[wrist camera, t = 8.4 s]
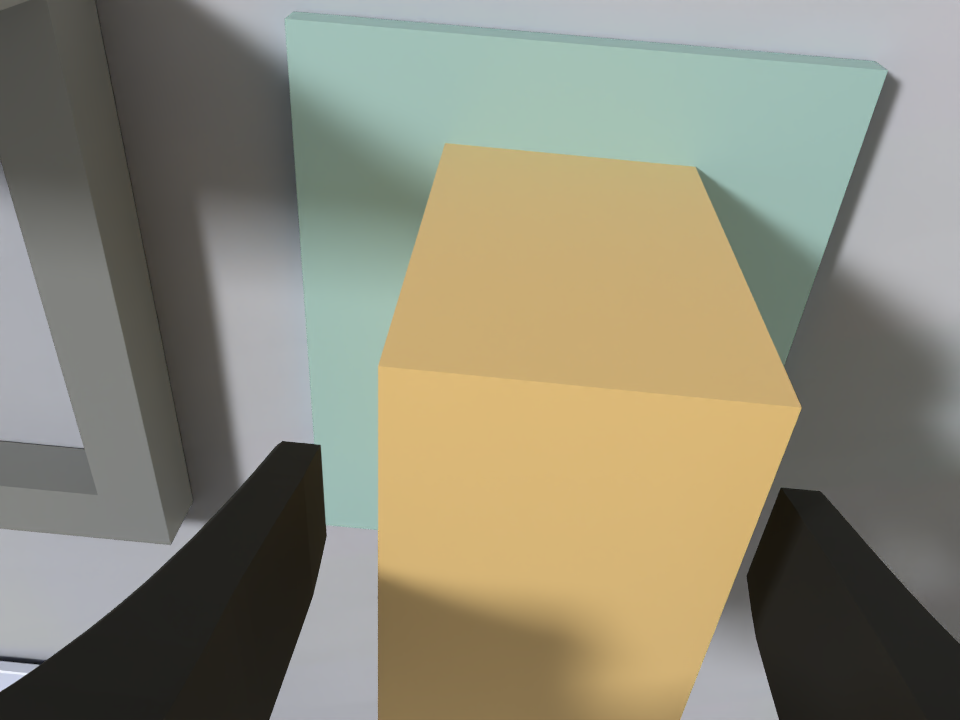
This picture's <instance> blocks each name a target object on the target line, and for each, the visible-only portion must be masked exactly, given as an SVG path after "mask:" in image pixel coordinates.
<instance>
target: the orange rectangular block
mask: <svg viewBox="0 0 960 720" xmlns="http://www.w3.org/2000/svg"><path fill="white" fill-rule="evenodd" d="M801 408H802V407H801V405H800V402H799V400H798V398H797V396H796V393H795V391H794V389H793V387H792V384H791V382H790V380H789V378H788V375H787V373H786V371H785V369H784V366H783V364H782V362H781V359H780V357H779V355H778V353H777V350H776V348H775V346H774V344H773V341H772V339H771V337H770V335H769V332H768V330H767V328H766V325H765V323H764V321H763V319H762V316H761V314H760V312H759V310H758V307H757V305H756V303H755V301H754V298H753V296H752V294H751V291H750V289H749V287H748V285H747V282H746V280H745V278H744V276H743V273H742V271H741V269H740V267H739V264H738V262H737V260H736V257H735V255H734V253H733V251H732V248H731V246H730V244H729V242H728V239H727V237H726V235H725V233H724V230H723V228H722V226H721V223H720V221H719V219H718V217H717V214H716V212H715V210H714V208H713V205H712V203H711V201H710V199H709V196H708V194H707V192H706V189H705V187H704V185H703V183H702V180H701V178H700V176H699V174H698V171H697V169H696V167H692V166H682V165H671V164H661V163H650V162H640V161H629V160H619V159H608V158H598V157H587V156H577V155H566V154H555V153H545V152H534V151H524V150H513V149H503V148H492V147H482V146H471V145H461V144H450V143H445V145H444V148H443V151H442V155H441V158H440V161H439V165H438V168H437V171H436V175H435V178H434V181H433V185H432V188H431V191H430V195H429V198H428V201H427V205H426V208H425V211H424V215H423V218H422V221H421V225H420V228H419V231H418V235H417V238H416V241H415V245H414V248H413V251H412V255H411V258H410V261H409V265H408V268H407V271H406V275H405V278H404V281H403V285H402V288H401V291H400V295H399V298H398V301H397V305H396V308H395V311H394V315H393V318H392V321H391V325H390V328H389V331H388V335H387V338H386V341H385V345H384V348H383V351H382V355H381V358H380V361H379V365H378V720H680V719H681V716H682V713H683V711H684V708H685V706H686V703H687V701H688V698H689V695H690V693H691V690H692V688H693V685H694V683H695V680H696V678H697V675H698V672H699V670H700V667H701V665H702V662H703V660H704V657H705V654H706V652H707V649H708V647H709V644H710V642H711V639H712V637H713V634H714V631H715V629H716V626H717V624H718V621H719V619H720V616H721V613H722V611H723V608H724V606H725V603H726V601H727V598H728V596H729V593H730V590H731V588H732V585H733V583H734V580H735V578H736V575H737V572H738V570H739V567H740V565H741V562H742V560H743V557H744V555H745V552H746V549H747V547H748V544H749V542H750V539H751V537H752V534H753V531H754V529H755V526H756V524H757V521H758V519H759V516H760V514H761V511H762V508H763V506H764V503H765V501H766V498H767V496H768V493H769V490H770V488H771V485H772V483H773V480H774V478H775V475H776V473H777V470H778V467H779V465H780V462H781V460H782V457H783V455H784V452H785V449H786V447H787V444H788V442H789V439H790V437H791V434H792V432H793V429H794V426H795V424H796V421H797V419H798V416H799V414H800V411H801Z"/></svg>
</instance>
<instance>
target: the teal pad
mask: <svg viewBox="0 0 960 720" xmlns="http://www.w3.org/2000/svg"><path fill="white" fill-rule="evenodd" d="M285 31H286V45H287V60H288V74H289V88H290V103H291V117H292V131H293V146H294V160H295V174H296V188H297V203H298V217H299V231H300V246H301V260H302V274H303V289H304V303H305V317H306V332H307V346H308V360H309V375H310V389H311V403H312V418H313V432H314V444H317V445H321V456H322V471H323V487H324V503H325V519H326V525H331V526H342V527H352V528H362V529H373V530H378V365H379V361H380V358H381V355H382V351H383V348H384V345H385V341H386V338H387V335H388V331H389V328H390V325H391V321H392V318H393V315H394V311H395V308H396V305H397V301H398V298H399V295H400V291H401V288H402V285H403V281H404V278H405V275H406V271H407V268H408V265H409V261H410V258H411V255H412V251H413V248H414V245H415V241H416V238H417V235H418V231H419V228H420V225H421V221H422V218H423V215H424V211H425V208H426V205H427V201H428V198H429V195H430V191H431V188H432V185H433V181H434V178H435V175H436V171H437V168H438V165H439V161H440V158H441V155H442V151H443V148H444V145H445V143H450V144H461V145H471V146H482V147H492V148H503V149H513V150H524V151H534V152H545V153H555V154H566V155H577V156H587V157H598V158H608V159H619V160H629V161H640V162H650V163H661V164H671V165H682V166H692V167H696V169H697V171H698V174H699V176H700V178H701V180H702V183H703V185H704V187H705V189H706V192H707V194H708V196H709V199H710V201H711V203H712V205H713V208H714V210H715V212H716V214H717V217H718V219H719V221H720V223H721V226H722V228H723V230H724V233H725V235H726V237H727V239H728V242H729V244H730V246H731V248H732V251H733V253H734V255H735V257H736V260H737V262H738V264H739V267H740V269H741V271H742V273H743V276H744V278H745V280H746V282H747V285H748V287H749V289H750V291H751V294H752V296H753V298H754V301H755V303H756V305H757V307H758V310H759V312H760V314H761V316H762V319H763V321H764V323H765V325H766V328H767V330H768V332H769V335H770V337H771V339H772V341H773V344H774V346H775V348H776V350H777V353H778V355H779V357H780V359H781V362H782V364H783V366H784V365H785V362H786V359H787V356H788V354H789V351H790V348H791V345H792V342H793V339H794V336H795V334H796V331H797V328H798V325H799V322H800V319H801V317H802V314H803V311H804V308H805V305H806V302H807V299H808V297H809V294H810V291H811V288H812V285H813V282H814V280H815V277H816V274H817V271H818V268H819V265H820V262H821V260H822V257H823V254H824V251H825V248H826V245H827V242H828V240H829V237H830V234H831V231H832V228H833V225H834V223H835V220H836V217H837V214H838V211H839V208H840V205H841V203H842V200H843V197H844V194H845V191H846V188H847V186H848V183H849V180H850V177H851V174H852V171H853V168H854V166H855V163H856V160H857V157H858V154H859V151H860V149H861V146H862V143H863V140H864V137H865V134H866V131H867V129H868V126H869V123H870V120H871V117H872V114H873V112H874V109H875V106H876V103H877V100H878V97H879V94H880V92H881V89H882V86H883V83H884V80H885V77H886V74H887V72H888V70H886V69H885V68H884V67H882V66H881V65H880V64H878V63H877V62H875V61H866V60H854V59H843V58H831V57H819V56H807V55H796V54H784V53H772V52H761V51H749V50H737V49H726V48H714V47H702V46H691V45H679V44H667V43H656V42H644V41H632V40H620V39H609V38H597V37H585V36H574V35H562V34H550V33H539V32H527V31H515V30H504V29H492V28H480V27H468V26H457V25H445V24H433V23H422V22H410V21H398V20H387V19H375V18H363V17H352V16H340V15H328V14H316V13H305V12H293V13H292V14H290V15H289V16H288V17H286V18H285Z"/></svg>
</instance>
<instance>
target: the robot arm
mask: <svg viewBox="0 0 960 720" xmlns="http://www.w3.org/2000/svg"><path fill="white" fill-rule="evenodd" d="M326 536H327V535H326V519H325V503H324V487H323V471H322V456H321V445H317V444H307V443H296V442H285V441H282V442H281V443H279V444H278V445H277V446H276V447H275V448H274V449H273V450H272V451H271V453H270V454H269V455H268V456H267V457H266V458H265V460H264V461H263V462H262V463H261V464H260V465H259V467H258V468H257V469H256V470H255V471H254V472H253V474H252V475H251V476H250V477H249V478H248V479H247V480H246V481H245V483H244V484H243V485H242V486H241V487H240V488H239V489H238V490H237V491H236V493H235V494H234V495H233V496H232V497H231V498H230V499H229V500H228V501H227V502H226V504H225V505H224V506H223V507H222V508H221V509H220V510H219V511H218V512H217V513H216V514H215V515H214V516H213V517H212V518H211V519H210V520H209V521H208V522H207V523H206V524H205V525H204V526H203V527H202V528H201V530H200V531H199V532H198V533H197V534H196V535H195V536H194V537H193V538H192V539H191V540H190V541H189V542H188V543H187V544H186V545H184V546H183V547H182V548H181V549H180V550H179V551H178V552H177V553H176V554H175V555H174V556H173V557H172V558H171V559H170V560H169V561H167V562H166V563H165V564H164V565H163V566H162V567H161V568H160V569H159V570H158V571H157V572H156V573H155V574H154V575H153V576H151V577H150V578H149V579H148V580H147V581H146V582H145V583H144V584H143V585H141V586H140V587H139V588H138V589H137V590H136V591H134V592H133V593H132V594H131V595H130V596H129V597H128V598H126V599H125V600H124V601H123V602H122V603H120V604H119V605H118V606H117V607H116V608H114V609H113V610H112V611H111V612H109V613H108V614H107V615H106V616H104V617H103V618H102V619H101V620H99V621H98V622H97V623H96V624H94V625H93V626H92V627H91V628H89V629H88V630H87V631H85V632H84V633H83V634H81V635H80V636H79V637H77V638H76V639H75V640H73V641H72V642H71V643H69V644H68V645H67V646H65V647H64V648H63V649H61V650H60V651H58V652H57V653H56V654H54V655H53V656H52V657H50V658H49V659H48V660H46V661H45V662H43V663H42V664H41V665H38V664H28V663H18V662H7V661H0V720H269V719H270V716H271V713H272V710H273V708H274V705H275V702H276V699H277V696H278V694H279V691H280V688H281V685H282V682H283V680H284V677H285V674H286V671H287V668H288V666H289V663H290V660H291V657H292V654H293V651H294V649H295V646H296V643H297V640H298V637H299V635H300V632H301V629H302V626H303V623H304V620H305V617H306V615H307V612H308V609H309V606H310V603H311V600H312V597H313V594H314V589H315V585H316V581H317V577H318V572H319V568H320V564H321V559H322V555H323V550H324V545H325V541H326ZM747 582H748V589H749V596H750V604H751V611H752V617H753V623H754V629H755V635H756V640H757V643H758V647H759V651H760V655H761V658H762V662H763V665H764V669H765V672H766V676H767V679H768V683H769V687H770V690H771V693H772V697H773V700H774V704H775V707H776V711H777V714H778V718H779V720H960V644H959V643H958V642H957V641H956V640H955V639H954V638H953V637H952V636H951V635H950V634H949V633H948V632H947V631H946V630H945V629H944V628H943V627H942V626H941V625H940V624H939V623H938V622H937V621H936V620H935V618H934V617H933V616H932V615H931V614H930V613H929V612H928V611H927V610H926V609H925V608H924V607H923V606H922V605H921V604H920V603H919V602H918V601H917V599H916V598H915V597H914V596H913V595H912V594H911V593H910V592H909V591H908V590H907V589H906V588H905V586H904V585H903V584H902V583H901V582H900V581H899V580H898V579H897V578H896V577H895V575H894V574H893V573H892V572H891V571H890V570H889V569H888V568H887V566H886V565H885V564H884V563H883V562H882V561H881V560H880V559H879V557H878V556H877V555H876V554H875V553H874V552H873V551H872V549H871V548H870V547H869V546H868V545H867V544H866V543H865V541H864V540H863V539H862V538H861V537H860V536H859V535H858V533H857V532H856V531H855V530H854V529H853V528H852V526H851V525H850V524H849V523H848V522H847V521H846V520H845V518H844V517H843V516H842V515H841V514H840V513H839V512H838V510H837V509H836V508H835V507H834V506H833V505H832V504H831V502H830V501H829V500H828V499H827V498H826V497H825V496H824V495H823V494H822V493H821V492H820V491H811V490H800V489H789V488H781V489H780V491H779V494H778V497H777V499H776V502H775V504H774V507H773V509H772V512H771V515H770V517H769V520H768V522H767V525H766V527H765V530H764V533H763V535H762V538H761V540H760V543H759V545H758V548H757V551H756V553H755V556H754V558H753V561H752V563H751V566H750V569H749V571H748V574H747Z"/></svg>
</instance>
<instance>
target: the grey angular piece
mask: <svg viewBox="0 0 960 720" xmlns="http://www.w3.org/2000/svg"><path fill="white" fill-rule="evenodd" d="M0 159H1V163H2V166H3V170H4V173H5V177H6V180H7V183H8V187H9V190H10V194H11V197H12V201H13V204H14V208H15V211H16V214H17V218H18V221H19V225H20V228H21V232H22V235H23V239H24V242H25V246H26V249H27V252H28V256H29V259H30V263H31V266H32V270H33V273H34V277H35V280H36V283H37V287H38V290H39V294H40V297H41V301H42V304H43V308H44V311H45V314H46V318H47V321H48V325H49V328H50V332H51V335H52V339H53V342H54V346H55V349H56V352H57V356H58V359H59V363H60V366H61V370H62V373H63V377H64V380H65V383H66V387H67V390H68V394H69V397H70V401H71V404H72V408H73V411H74V414H75V418H76V421H77V425H78V428H79V432H80V435H81V439H82V442H83V446H84V449H77V448H67V447H56V446H46V445H35V444H25V443H14V442H3V441H0V529H10V530H21V531H31V532H41V533H52V534H62V535H73V536H83V537H93V538H104V539H114V540H124V541H135V542H145V543H155V544H166V545H171V544H172V542H173V540H174V538H175V536H176V534H177V532H178V530H179V528H180V526H181V524H182V522H183V520H184V518H185V516H186V514H187V513H188V511H189V509H190V507H191V505H192V503H193V498H192V493H191V488H190V483H189V478H188V473H187V468H186V463H185V458H184V453H183V447H182V442H181V437H180V432H179V427H178V422H177V417H176V412H175V407H174V401H173V396H172V391H171V386H170V381H169V376H168V371H167V366H166V361H165V356H164V350H163V345H162V340H161V335H160V330H159V325H158V320H157V315H156V310H155V305H154V299H153V294H152V289H151V284H150V279H149V274H148V269H147V264H146V259H145V254H144V248H143V243H142V238H141V233H140V228H139V223H138V218H137V213H136V208H135V203H134V197H133V192H132V187H131V182H130V177H129V172H128V167H127V162H126V157H125V151H124V146H123V141H122V136H121V131H120V126H119V121H118V116H117V111H116V106H115V100H114V95H113V90H112V85H111V80H110V75H109V70H108V65H107V60H106V55H105V49H104V44H103V39H102V34H101V29H100V24H99V19H98V14H97V9H96V4H95V0H0Z"/></svg>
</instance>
